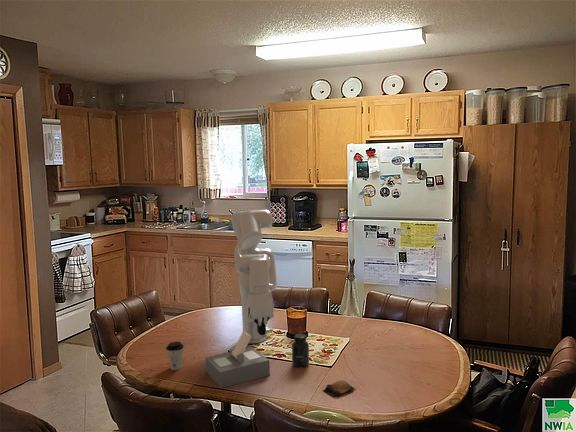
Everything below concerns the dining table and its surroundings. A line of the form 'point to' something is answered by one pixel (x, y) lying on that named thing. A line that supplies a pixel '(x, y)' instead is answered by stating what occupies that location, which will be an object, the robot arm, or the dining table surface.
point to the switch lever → (241, 344)
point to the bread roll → (339, 389)
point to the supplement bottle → (300, 351)
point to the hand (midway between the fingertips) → (261, 334)
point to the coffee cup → (175, 355)
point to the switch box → (237, 367)
